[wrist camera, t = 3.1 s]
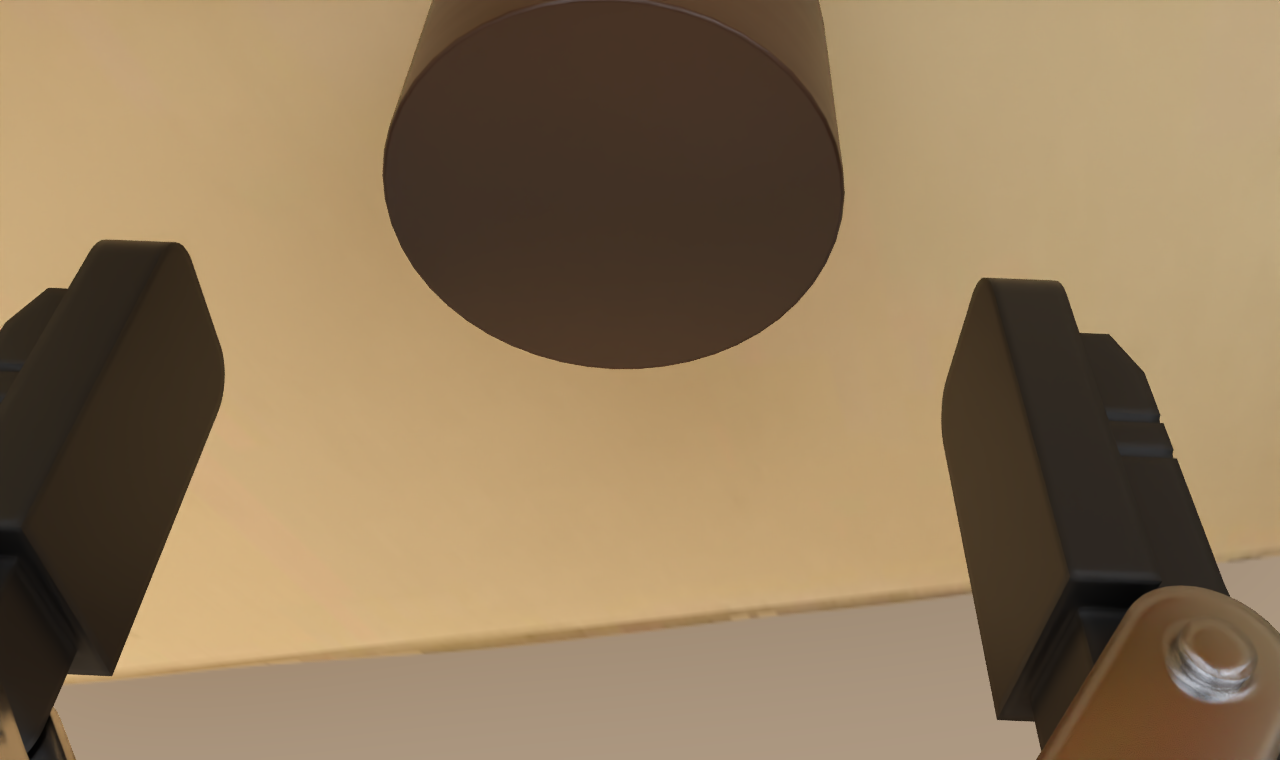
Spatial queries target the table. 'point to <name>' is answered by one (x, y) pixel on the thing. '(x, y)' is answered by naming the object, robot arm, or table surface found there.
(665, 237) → the stopper
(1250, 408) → the table surface
